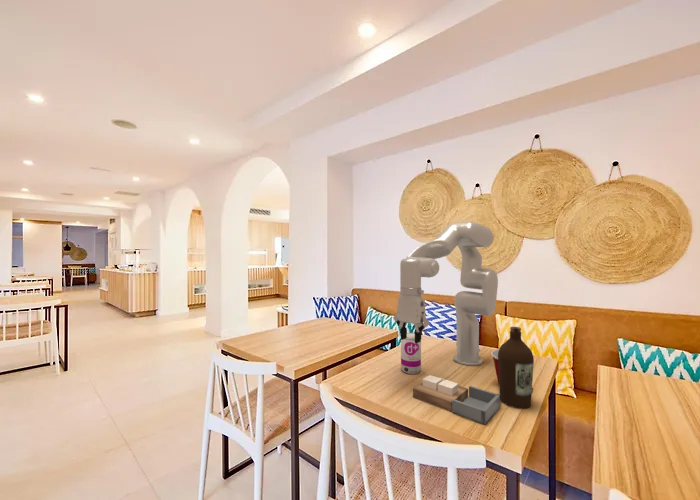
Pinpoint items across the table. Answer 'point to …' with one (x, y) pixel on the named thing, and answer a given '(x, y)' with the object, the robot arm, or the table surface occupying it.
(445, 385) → the tile
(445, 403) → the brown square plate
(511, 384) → the olive oil
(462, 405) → the box
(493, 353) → the plastic cup
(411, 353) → the supplement can
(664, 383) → the table surface
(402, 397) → the table surface
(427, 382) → the tile
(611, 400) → the table surface
